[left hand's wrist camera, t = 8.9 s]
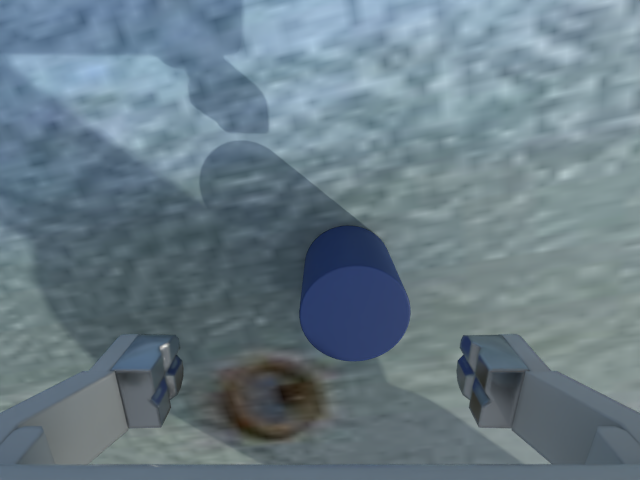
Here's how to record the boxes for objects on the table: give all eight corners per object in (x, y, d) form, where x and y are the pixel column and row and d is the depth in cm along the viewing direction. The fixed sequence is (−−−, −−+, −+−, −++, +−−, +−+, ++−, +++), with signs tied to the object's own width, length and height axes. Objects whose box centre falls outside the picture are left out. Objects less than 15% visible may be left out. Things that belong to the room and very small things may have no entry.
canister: (389, 301, 18) (408, 360, 14) (307, 304, 18) (302, 363, 14) (390, 223, 17) (413, 263, 13) (302, 227, 17) (295, 267, 13)
